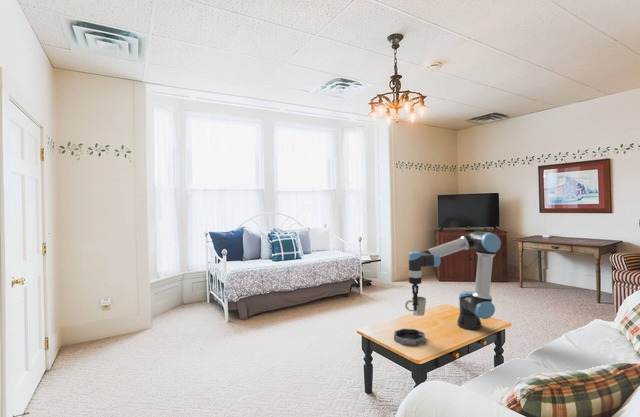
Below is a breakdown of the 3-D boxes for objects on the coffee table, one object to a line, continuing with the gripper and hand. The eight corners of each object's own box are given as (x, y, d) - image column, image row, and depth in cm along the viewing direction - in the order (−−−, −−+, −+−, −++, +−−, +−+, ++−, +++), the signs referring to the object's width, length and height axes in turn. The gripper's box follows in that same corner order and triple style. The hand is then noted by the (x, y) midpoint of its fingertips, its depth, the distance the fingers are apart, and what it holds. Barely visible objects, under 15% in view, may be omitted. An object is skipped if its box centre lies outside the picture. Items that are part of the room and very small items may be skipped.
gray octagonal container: (424, 334, 215) (424, 329, 215) (425, 346, 197) (425, 341, 197) (395, 332, 220) (395, 327, 220) (393, 344, 202) (393, 339, 202)
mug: (426, 316, 203) (426, 300, 203) (405, 315, 205) (405, 299, 205) (425, 312, 211) (425, 296, 211) (404, 311, 214) (404, 295, 213)
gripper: (409, 273, 218) (409, 308, 219) (408, 279, 200) (409, 318, 200) (421, 273, 216) (421, 309, 217) (421, 280, 198) (422, 319, 198)
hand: (415, 313), depth 208 cm, fingers closed on mug, 6 cm apart
